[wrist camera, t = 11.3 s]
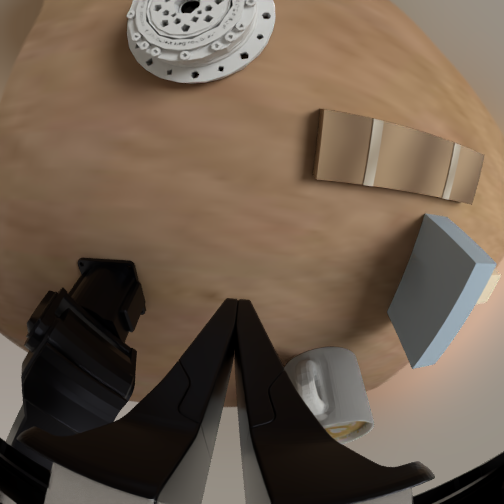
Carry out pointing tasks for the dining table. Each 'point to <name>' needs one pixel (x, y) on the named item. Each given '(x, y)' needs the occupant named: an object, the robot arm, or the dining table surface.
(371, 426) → the coffee mug
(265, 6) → the mechanical component
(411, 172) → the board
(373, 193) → the dining table surface
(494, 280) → the light blue upright panel
